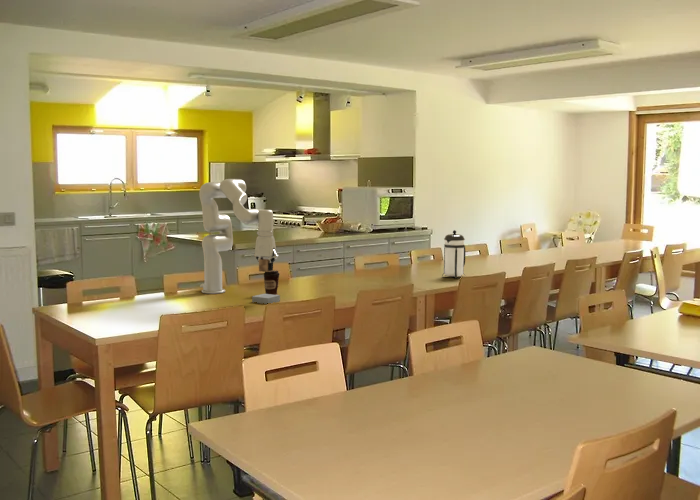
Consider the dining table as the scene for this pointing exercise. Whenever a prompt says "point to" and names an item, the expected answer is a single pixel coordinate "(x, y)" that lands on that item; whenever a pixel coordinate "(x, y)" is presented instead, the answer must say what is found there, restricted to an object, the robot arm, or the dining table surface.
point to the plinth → (266, 298)
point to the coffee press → (454, 255)
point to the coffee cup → (271, 282)
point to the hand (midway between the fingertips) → (266, 269)
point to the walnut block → (263, 265)
